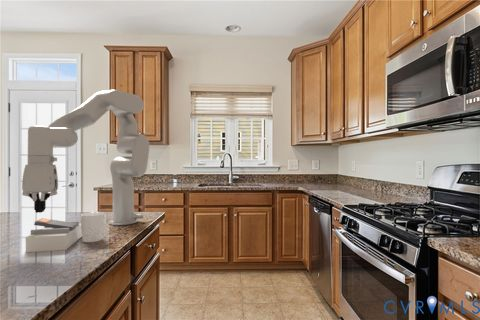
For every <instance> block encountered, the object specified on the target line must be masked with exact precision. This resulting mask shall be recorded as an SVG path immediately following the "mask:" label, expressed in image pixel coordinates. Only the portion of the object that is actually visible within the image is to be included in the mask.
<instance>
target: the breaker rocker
mask: <svg viewBox="0 0 480 320" xmlns="http://www.w3.org/2000/svg"><path fill="white" fill-rule="evenodd" d="M71 222H72V221H65V220H64V221H62V220H58V219H51V218H44V217H42V218H39V219H38V220H35V221H34V224H33V225H34V226H38V227H43V228H44V227H51V228H69V230H72V229H74V228H75V227H77V223H71Z"/></svg>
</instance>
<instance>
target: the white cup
mask: <svg viewBox="0 0 480 320" xmlns="http://www.w3.org/2000/svg"><path fill="white" fill-rule="evenodd" d="M104 216H105V212H102V211H89V212H84V213H80V224H81V229H82V237H81V241H82V242H83V243H94V242H99V241H102V240H103V232H104Z"/></svg>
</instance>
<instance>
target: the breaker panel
mask: <svg viewBox="0 0 480 320" xmlns="http://www.w3.org/2000/svg"><path fill="white" fill-rule="evenodd" d="M70 222H71V223H77V227H75V228H74V229H72V230H69V228H51V227H44V226H43V227H41V228H39V229H31V230H30V234H29V235H27V236H25V253H36V252H37V253H38V252H40V253H41V252H51V251H52V252H55V251H66V250H67V249H69V248H70V247H71V246H72V245H74V244H75V243H76V242H77V241H78V240H79V239H80V238H81V239H82V229H81V223H80V221H70Z"/></svg>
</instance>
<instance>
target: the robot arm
mask: <svg viewBox="0 0 480 320" xmlns="http://www.w3.org/2000/svg"><path fill="white" fill-rule="evenodd" d="M144 107H145V104H144V100H143V99H142V97H140V96H139V95H137V94H134V93H130V92H125V91H123V90H118V89H108V90H101V91H98V92H95V93H94V94H93V95H92V96H90V97H89V98H88V99H87V100H86V101H84V102H83V103H82V104H81V105H80V106H78V107H77V108H75V109H73V110H71V111H70V112H68V113H65V114H64V115H62V116H60V117H59V118H57V119H55V120H54V121H53V122H51V123H50V124H49V125H47V126H45V125H31V126H29V127H28V128H27V164H25V166H24V169H23V174H22V180H21V181H22V184H21V186H22V187H21V189H22V193H21V194H22V196H24V197H29V198H30V200H32V201H33V202H34V205H33V206H34V207H33V209H34V211H35V213H43V212H45V210H46V204H47V203H46V202H47V200H48V198H50V197H53V196H56V195H58V189H59V177H58V170H57V166H56V164H54V162H58V157H54V148H57V149H58V148H64V149H67V148H70V147H71V148H72V147H73V146H75V145H76V144H77V142H78V141H79V138H78V137H79V136H78V133H77V131H78V130H80V129H81V130H82V129H84V128H88V127H90V126H92V125H94V124H95V123H97V121H99V119H101V118H102V117H103V116H104V115H106V113H107V112H108V111H111V112H112V113H113V115H114V116H115V117H116V120H117V122H118V134H117V140H116V149H117V151H118V153H120V154H123V155H125V154H126V156H117V157H115V158H113V159H112V160H111V162H110V164H109V165H110V166H109V170H110V174H111V179H112V219H110V220H109V221H108V224H109V225H112V226H127V225H132V224H136V223H137V222H138V219H144V217H145V216H144V213H143V214H142V213H136V211H135V185H134V184H135V183H134V181H133V178H138V177H139V178H140V177H142V176H144V175H145V174H146V171H147V170H148V169H147V168H148V162H149V153H150V141H149V138H148V137H147V136H146V135H145V134H142V133H138V122H137V119H136V118H135V117H134V115H136V114H139V113H141V112H142V111H143V110H144ZM128 155H131V156H128Z"/></svg>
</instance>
